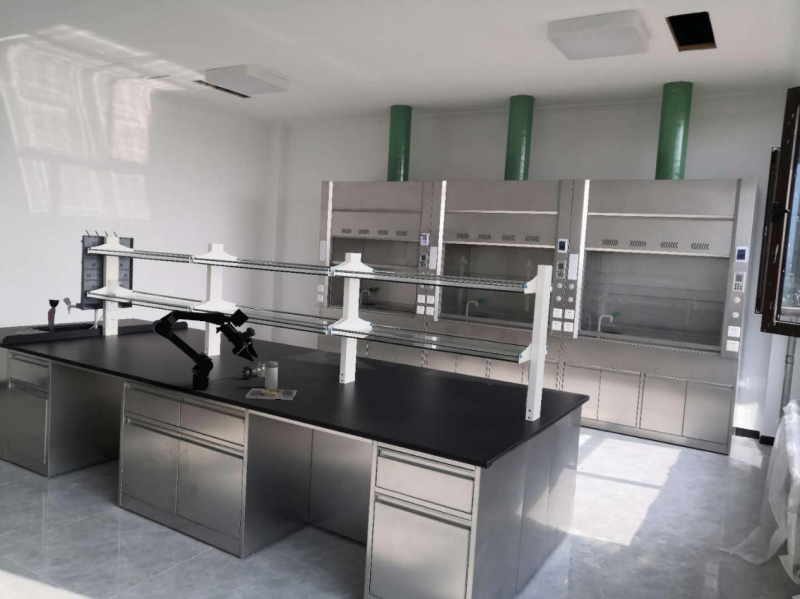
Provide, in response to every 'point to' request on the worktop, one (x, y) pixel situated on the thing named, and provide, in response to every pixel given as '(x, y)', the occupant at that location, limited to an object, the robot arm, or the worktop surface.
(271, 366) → the domed cap cylinder
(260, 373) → the valve
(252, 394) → the shaft mount
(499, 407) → the worktop surface
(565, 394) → the worktop surface
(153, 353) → the worktop surface
